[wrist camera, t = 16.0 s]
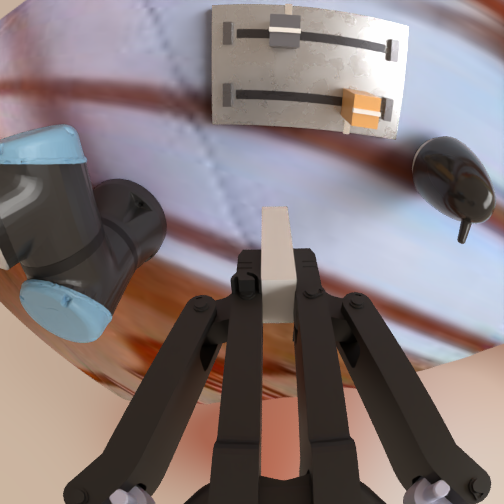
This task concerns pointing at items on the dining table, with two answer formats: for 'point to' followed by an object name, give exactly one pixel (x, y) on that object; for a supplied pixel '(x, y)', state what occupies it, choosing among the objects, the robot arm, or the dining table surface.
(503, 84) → the dining table surface
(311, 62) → the console
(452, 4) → the dining table surface
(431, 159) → the pump dispenser
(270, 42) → the fader graphite
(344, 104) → the fader orange
